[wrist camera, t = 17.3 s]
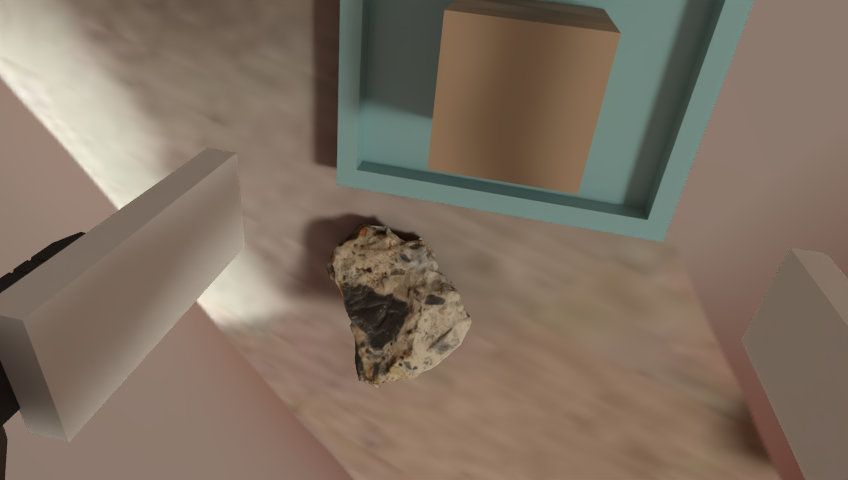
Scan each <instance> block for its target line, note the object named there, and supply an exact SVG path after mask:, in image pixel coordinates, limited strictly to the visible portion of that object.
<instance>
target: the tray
mask: <svg viewBox="0 0 848 480" xmlns="http://www.w3.org/2000/svg"><path fill="white" fill-rule="evenodd" d="M454 1H455V0H340V32H339V85H338V138H337V185H341V186H347V187H353V188H358V189H364V190H370V191H375V192H381V193H387V194H392V195H398V196H404V197H409V198H415V199H421V200H426V201H432V202H438V203H443V204H449V205H455V206H461V207H466V208H472V209H478V210H483V211H489V212H495V213H500V214H506V215H512V216H517V217H523V218H529V219H534V220H540V221H546V222H551V223H557V224H563V225H568V226H574V227H580V228H586V229H591V230H597V231H603V232H608V233H614V234H620V235H625V236H631V237H637V238H642V239H648V240H654V241H659V242H663V240H664V237H665V235H666V232H667V229H668V227H669V224H670V221H671V218H672V216H673V213H674V211H675V208H676V205H677V203H678V200H679V198H680V194H681V192H682V190H683V187H684V184H685V182H686V179H687V176H688V174H689V171H690V169H691V166H692V163H693V161H694V158H695V155H696V153H697V150H698V147H699V145H700V142H701V140H702V137H703V134H704V132H705V129H706V126H707V124H708V121H709V118H710V116H711V113H712V111H713V108H714V105H715V103H716V100H717V97H718V95H719V92H720V89H721V87H722V84H723V81H724V79H725V76H726V74H727V71H728V68H729V66H730V63H731V60H732V57H733V55H734V52H735V50H736V47H737V45H738V42H739V39H740V37H741V34H742V31H743V29H744V26H745V23H746V21H747V18H748V15H749V13H750V10H751V8H752V5H753V2H754V0H536V1H544V2H552V3H560V4H568V5H576V6H583V7H591V8H599V9H604V10H605V11H606V12H607V14H608V15H609V17H610V18H611V20H612V21H613V23H614V24H615V25H616V27H617V28H618V30H619V31H620V33H621V35H620V38H619V42H618V46H617V50H616V53H615V57H614V61H613V65H612V68H611V72H610V76H609V80H608V83H607V87H606V91H605V95H604V98H603V102H602V106H601V110H600V113H599V117H598V121H597V125H596V128H595V132H594V136H593V140H592V143H591V147H590V151H589V155H588V158H587V162H586V166H585V170H584V173H583V177H582V181H581V185H580V188H579V192H578V194H573V193H567V192H561V191H555V190H549V189H543V188H537V187H531V186H525V185H519V184H513V183H507V182H501V181H495V180H489V179H483V178H477V177H471V176H465V175H459V174H453V173H447V172H441V171H435V170H429V169H427V167H428V158H429V148H430V139H431V129H432V120H433V111H434V101H435V92H436V83H437V73H438V64H439V55H440V45H441V36H442V26H443V17H444V10H445V9H446V8H447V7H448V6H449V5H450V4H452V3H453V2H454Z"/></svg>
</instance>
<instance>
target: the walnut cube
mask: <svg viewBox="0 0 848 480" xmlns="http://www.w3.org/2000/svg"><path fill="white" fill-rule="evenodd" d="M620 35H621V33H620V31H619V30H618V28H617V27H616V25H615V24H614V23H613V21H612V20H611V18H610V17H609V15H608V14H607V12H606V11H605V10H604V9H599V8H591V7H583V6H576V5H568V4H560V3H552V2H544V1H536V0H455V1H454V2H453V3H452V4H450V5H449V6H448V7H447V8H446V9H445V10H444V17H443V26H442V36H441V45H440V55H439V64H438V73H437V83H436V92H435V101H434V111H433V120H432V129H431V139H430V148H429V158H428V167H427V169H429V170H435V171H441V172H447V173H453V174H459V175H465V176H471V177H477V178H483V179H489V180H495V181H501V182H507V183H513V184H519V185H525V186H531V187H537V188H543V189H549V190H555V191H561V192H567V193H573V194H578V192H579V188H580V185H581V181H582V177H583V173H584V170H585V166H586V162H587V158H588V155H589V151H590V147H591V143H592V140H593V136H594V132H595V128H596V125H597V121H598V117H599V113H600V110H601V106H602V102H603V98H604V95H605V91H606V87H607V83H608V80H609V76H610V72H611V68H612V65H613V61H614V57H615V53H616V50H617V46H618V42H619V38H620Z"/></svg>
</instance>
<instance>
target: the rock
mask: <svg viewBox="0 0 848 480" xmlns="http://www.w3.org/2000/svg"><path fill="white" fill-rule="evenodd" d="M418 240H419V241H418ZM418 240H414V241H410V240H409V241H404V240H403V239H400V238H398V236H397V235H395V234H393V233H392V232H391V231H390V229H389V227H387V226H386V227H385V226H371V225H365V224H360V225H359V226H358V227H356V228H355V229H354V230H353V232H352V233H351V234H350V235H349V236H348V237H347V238H346V239H345V240H344V241H342V242H341V243H340V244H339V245H338V246H337V247H336V248H335V250H334V251H333V253H332V255H331V258H330V261H329V262H328V263H327V264H326V267H327V270H328V273H329V276H330V278H331V280H333V281H334V282H336V284H337V286H338V288H339V290H340V292H341V295H342V297H343V299H344V305H345V309H346V311H347V313H348V316H349V318H350V320H351V322H352V323H351V325H350V327H351V330H352V332H353V334H354V337H355V364H356V370H357V374H358V378H359V381H364V382H366V383H369V384H371V385H373V386H374V387H375V388H378V387H380V386H376V385H377V384H381V383H384V382H387V381H391V382H394V381H397V380H399V379H405V380H410V379H413V378H416V377H417V376H418V375H419V374H420V373H421V372H422V371H427V370H430V369H432V368H433V367H434V366H437V364H438V363H440V362H441V361H442V360H443V359H444V358H446V357H447V356H448V355H449V354H450V353H451V352H452V351H453V350H455V349H456V348H457V347H458V346H460V345H461V343H462V341H463V339H464V337H465V335H466V332H467V331H468V330H469V328H470V325H471V318H470V316H469V315H468V314H467V312H466V311H465V309H464V308H463V305H462V302H461V299H460V295H459V293H458V291H457V290H456V289H455V288H454V287H453V286H452V285H451V284H450V282H448V280H447V279H445V277H444V276H443V274H442V273H440V271H439V270H438V267H439V266H438V264H437V262H436V260H435V258H434V256H435V253H434V251H433V250H432V249H431V248H430V247H429V245H428V243H426V242H425V241H423V238H419V239H418ZM420 240H421V241H420ZM444 275H445V274H444ZM451 283H452V281H451ZM372 383H373V384H372ZM374 384H375V385H374Z"/></svg>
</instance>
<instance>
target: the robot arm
mask: <svg viewBox="0 0 848 480" xmlns="http://www.w3.org/2000/svg"><path fill="white" fill-rule="evenodd" d="M244 246H245V241H244V230H243V218H242V207H241V196H240V185H239V174H238V163H237V153H235V152H229V151H223V150H217V149H211V148H207V149H206V150H204V151H203V152H201V153H200V154H198V155H197V156H196V157H194V158H193V159H191V160H190V161H188V162H187V163H186V164H184V165H183V166H181V167H180V168H178V169H177V170H176V171H174V172H173V173H171V174H170V175H168V176H167V177H166V178H164V179H163V180H161V181H160V182H159V183H157V184H156V185H154V186H153V187H151V188H150V189H149V190H147V191H146V192H144V193H143V194H141V195H140V196H139V197H137V198H136V199H134V200H133V201H131V202H130V203H129V204H127V205H126V206H124V207H123V208H121V209H120V210H119V211H117V212H116V213H114V214H113V215H112V216H110V217H109V218H107V219H106V220H104V221H103V222H102V223H100V224H99V225H97V226H96V227H94V228H93V229H91V230H90V231H89V232H87V233H83V232H80V233H77V234H74V235H72V236H69V237H66V238H64V239H61V240H59V241H57V242H54V243H52V244H50V245H49V246H47V247H46V248H44V249H43V250H42V251H40V252H38V253H37V254H36V255H34V256H33V257H32V258H31V260H30V261H28V260H27V261H25V262H24V263H22V264H21V265H19V266H18V267H16V268H15V269H14V271H13V273H7V274H6V275H4V276H3V277H1V278H0V480H5V469H6V454H7V436H6V433H5V430H4V427H3V424H4V423H5V422H6V421H7V420H9V419H10V417H12V416H13V415H14V414H15V413H16V412H17V411H18V410H19V411H20V413H21V415H22V418H23V419H24V422H25V425H26V427H27V429H28V432H29V433H32V434H36V435H41V436H45V437H49V438H53V439H57V440H61V441H66V442H70V440H71V439H72V438H73V437H74V436H75V435H76V434H77V433H78V432H79V430H80V429H81V428H82V427H83V426H84V425H85V424H86V423H87V421H88V420H89V419H90V418H91V417H92V416H93V415H94V414H95V412H96V411H97V410H98V409H99V408H100V407H101V406H102V405H103V403H104V402H105V401H106V400H107V399H108V398H109V397H110V396H111V395H112V394H113V392H114V391H115V390H116V389H117V388H118V387H119V386H120V385H121V383H122V382H123V381H124V380H125V379H126V378H127V377H128V376H129V375H130V374H131V372H132V371H133V370H134V369H135V368H136V367H137V366H138V364H139V363H140V362H141V361H142V360H143V359H144V358H145V357H146V356H147V355H148V353H149V352H150V351H151V350H152V349H153V348H154V347H155V346H156V345H157V343H158V342H159V341H160V340H161V339H162V338H163V337H164V336H165V334H166V333H167V332H168V331H169V330H170V329H171V328H172V327H173V326H174V324H175V323H176V322H177V321H178V320H179V319H180V318H181V317H182V315H183V314H184V313H185V312H186V311H187V310H188V309H189V308H190V307H191V305H192V304H193V303H194V302H195V301H196V300H197V299H198V298H199V297H200V295H201V294H202V293H203V292H204V291H205V290H206V289H207V288H208V287H209V285H210V284H211V283H212V282H213V281H214V280H215V279H216V278H217V276H218V275H219V274H220V273H221V272H222V271H223V270H224V269H225V268H226V266H227V265H228V264H229V263H230V262H231V261H232V260H233V259H234V258H235V256H236V255H237V254H238V253H239V252H240V251H241V250H242V249H243V247H244ZM741 341H742V344H743V346H744V348H745V350H746V352H747V355H748V357H749V359H750V361H751V363H752V365H753V368H754V370H755V372H756V374H757V376H758V378H759V381H760V383H761V385H762V387H763V389H764V391H765V394H766V396H767V398H768V400H769V402H770V404H771V407H772V409H773V411H774V413H775V415H776V418H777V420H778V422H779V424H780V426H781V429H782V431H783V433H784V435H785V437H786V439H787V442H788V444H789V446H790V448H791V450H792V452H793V455H794V457H795V459H796V461H797V463H798V465H799V468H800V469H801V472H802V474H803V476H804V479H805V480H848V279H847V278H846V277H845V276H844V274H843V273H842V272H841V271H840V269H839V268H838V267H837V266H836V265H835V263H834V262H833V261H832V260H831V259H830V257H829V256H828V255H827V254H824V253H819V252H813V251H807V250H801V249H795V248H790V249H789V251H788V253H787V255H786V257H785V259H784V261H783V262H782V264H781V266H780V268H779V270H778V272H777V274H776V275H775V277H774V279H773V281H772V283H771V285H770V287H769V289H768V291H767V292H766V294H765V296H764V298H763V300H762V302H761V304H760V305H759V307H758V309H757V311H756V313H755V315H754V317H753V319H752V320H751V323H750V324H749V326H748V328H747V330H746V332H745V334H744V335H743V337H742V339H741Z"/></svg>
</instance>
